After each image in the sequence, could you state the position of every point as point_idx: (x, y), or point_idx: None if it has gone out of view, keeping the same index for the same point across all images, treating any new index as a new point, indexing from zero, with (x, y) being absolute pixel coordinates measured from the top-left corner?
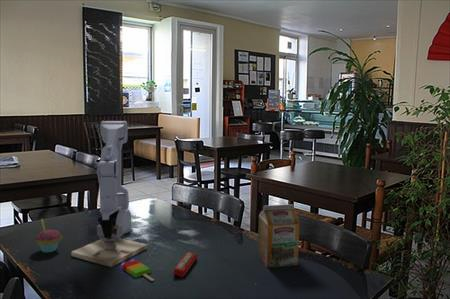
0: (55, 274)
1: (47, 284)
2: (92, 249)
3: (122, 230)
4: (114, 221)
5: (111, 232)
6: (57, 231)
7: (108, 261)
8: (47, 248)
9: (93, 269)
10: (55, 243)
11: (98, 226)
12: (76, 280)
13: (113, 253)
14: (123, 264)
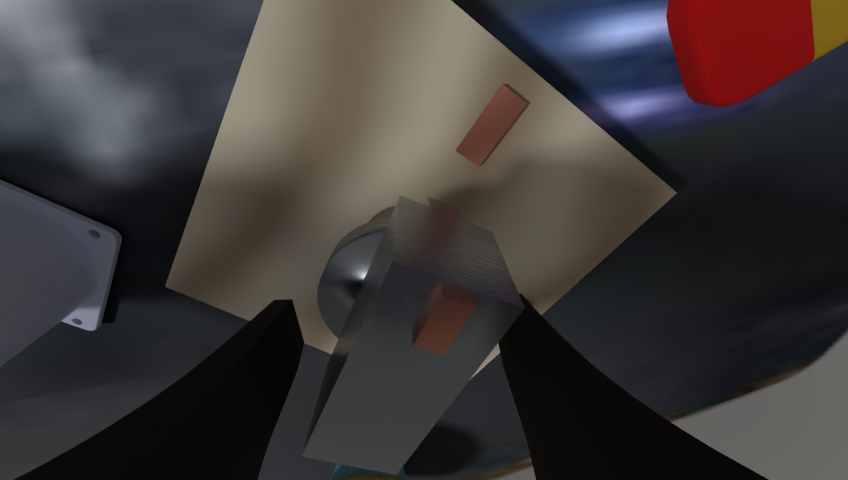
0: (631, 386)
1: (716, 387)
2: None
3: (10, 217)
4: (240, 378)
5: (554, 329)
6: None
7: (647, 213)
8: (403, 470)
9: (643, 268)
10: (387, 473)
11: (404, 459)
12: (740, 311)
13: (510, 205)
14: (743, 96)
